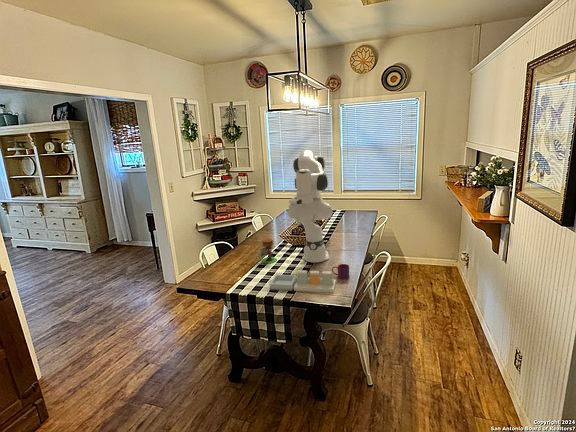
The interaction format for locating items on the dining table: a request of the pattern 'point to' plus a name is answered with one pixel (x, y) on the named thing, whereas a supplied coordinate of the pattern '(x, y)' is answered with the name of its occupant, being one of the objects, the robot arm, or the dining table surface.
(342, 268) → the mug
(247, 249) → the dining table surface
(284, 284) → the tray
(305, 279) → the green fuse
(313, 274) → the orange fuse
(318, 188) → the robot arm
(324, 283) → the green fuse
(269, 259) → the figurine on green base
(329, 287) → the fuse holder
